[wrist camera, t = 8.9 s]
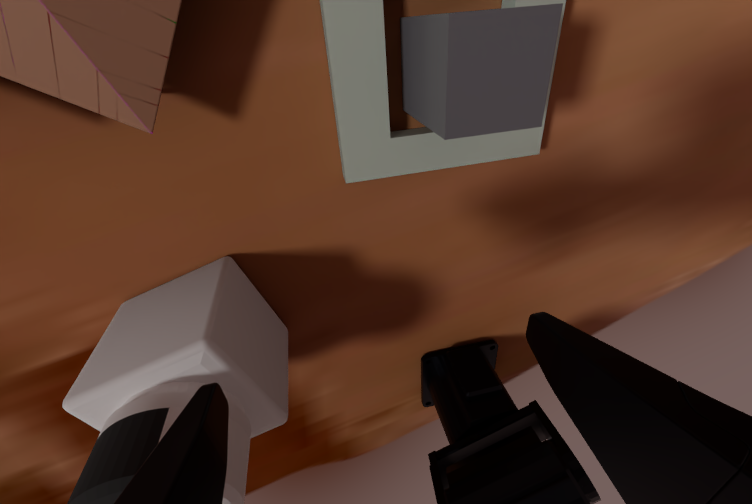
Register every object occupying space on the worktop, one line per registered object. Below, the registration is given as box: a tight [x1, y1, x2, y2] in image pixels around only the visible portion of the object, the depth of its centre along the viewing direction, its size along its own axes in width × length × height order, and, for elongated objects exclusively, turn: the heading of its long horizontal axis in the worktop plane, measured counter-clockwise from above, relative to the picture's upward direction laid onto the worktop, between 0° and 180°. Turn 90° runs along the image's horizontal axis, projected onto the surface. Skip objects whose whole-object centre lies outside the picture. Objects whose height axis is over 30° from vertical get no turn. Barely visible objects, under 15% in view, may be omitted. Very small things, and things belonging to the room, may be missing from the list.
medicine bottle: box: [62, 256, 288, 504], centre depth 18 cm, size 7×7×12 cm
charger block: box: [400, 3, 563, 140], centre depth 15 cm, size 4×4×6 cm
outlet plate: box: [320, 0, 566, 183], centre depth 16 cm, size 14×11×2 cm
